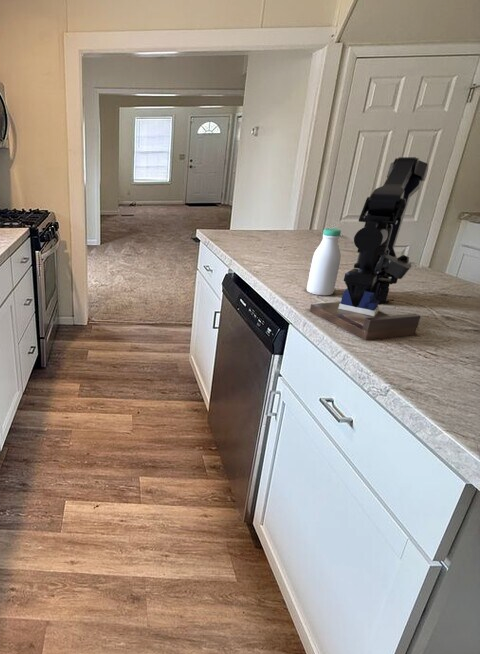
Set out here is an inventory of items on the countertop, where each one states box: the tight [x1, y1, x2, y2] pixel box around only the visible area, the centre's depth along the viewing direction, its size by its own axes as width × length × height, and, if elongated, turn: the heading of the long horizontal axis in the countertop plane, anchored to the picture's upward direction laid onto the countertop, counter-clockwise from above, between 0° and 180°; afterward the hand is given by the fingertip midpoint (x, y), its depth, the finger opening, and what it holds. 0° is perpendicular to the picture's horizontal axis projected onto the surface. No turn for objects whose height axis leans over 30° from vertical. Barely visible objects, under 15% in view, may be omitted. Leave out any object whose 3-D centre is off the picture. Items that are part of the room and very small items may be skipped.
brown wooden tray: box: [309, 301, 422, 341], centre depth 105 cm, size 20×14×5 cm
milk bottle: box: [306, 228, 342, 296], centre depth 125 cm, size 8×8×20 cm
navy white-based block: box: [339, 287, 380, 316], centre depth 107 cm, size 8×4×5 cm, turn 45°
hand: (360, 302), depth 107 cm, fingers open, 9 cm apart
